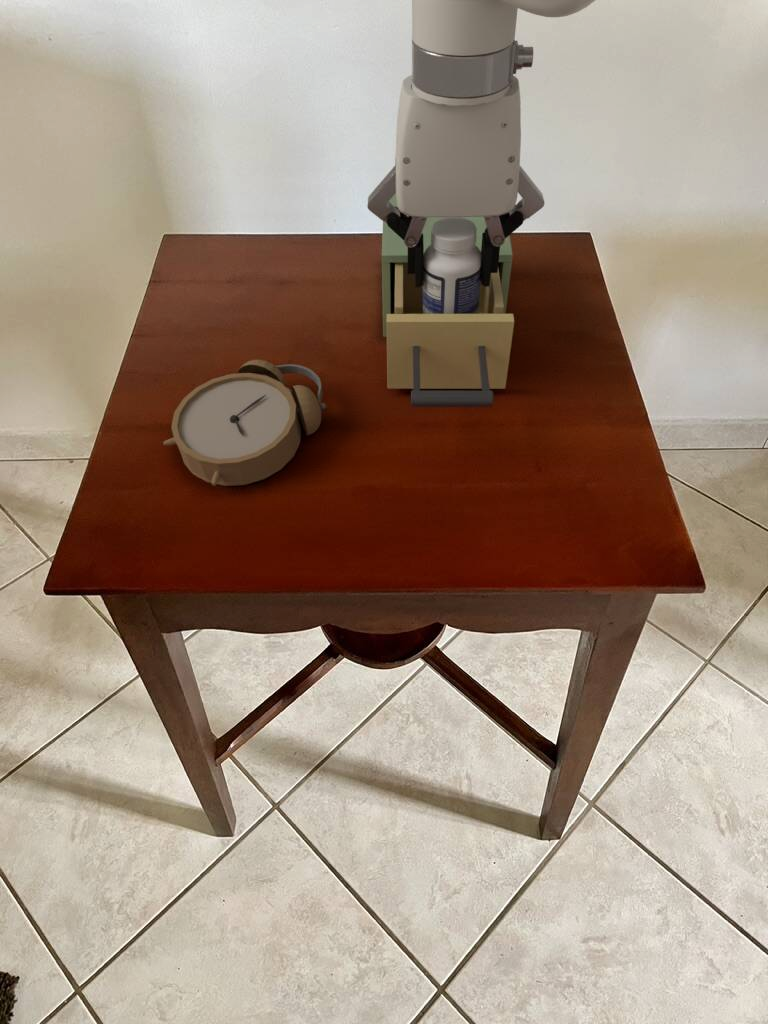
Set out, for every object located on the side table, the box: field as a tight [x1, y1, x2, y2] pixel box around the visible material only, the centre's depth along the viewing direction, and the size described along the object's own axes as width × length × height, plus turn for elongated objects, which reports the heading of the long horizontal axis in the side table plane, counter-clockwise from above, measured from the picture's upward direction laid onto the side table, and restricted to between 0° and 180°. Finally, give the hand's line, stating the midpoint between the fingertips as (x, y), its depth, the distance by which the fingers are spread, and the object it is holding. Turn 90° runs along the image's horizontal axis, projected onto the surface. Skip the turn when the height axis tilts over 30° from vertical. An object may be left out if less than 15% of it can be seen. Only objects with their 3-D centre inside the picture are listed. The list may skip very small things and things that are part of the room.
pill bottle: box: [422, 217, 482, 314], centre depth 72 cm, size 5×5×10 cm
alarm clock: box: [163, 359, 327, 487], centre depth 71 cm, size 11×5×15 cm
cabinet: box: [381, 193, 514, 338], centre depth 83 cm, size 14×13×10 cm
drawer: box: [386, 262, 515, 408], centre depth 74 cm, size 20×11×8 cm, turn 179°
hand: (451, 276), depth 72 cm, fingers closed on pill bottle, 5 cm apart
